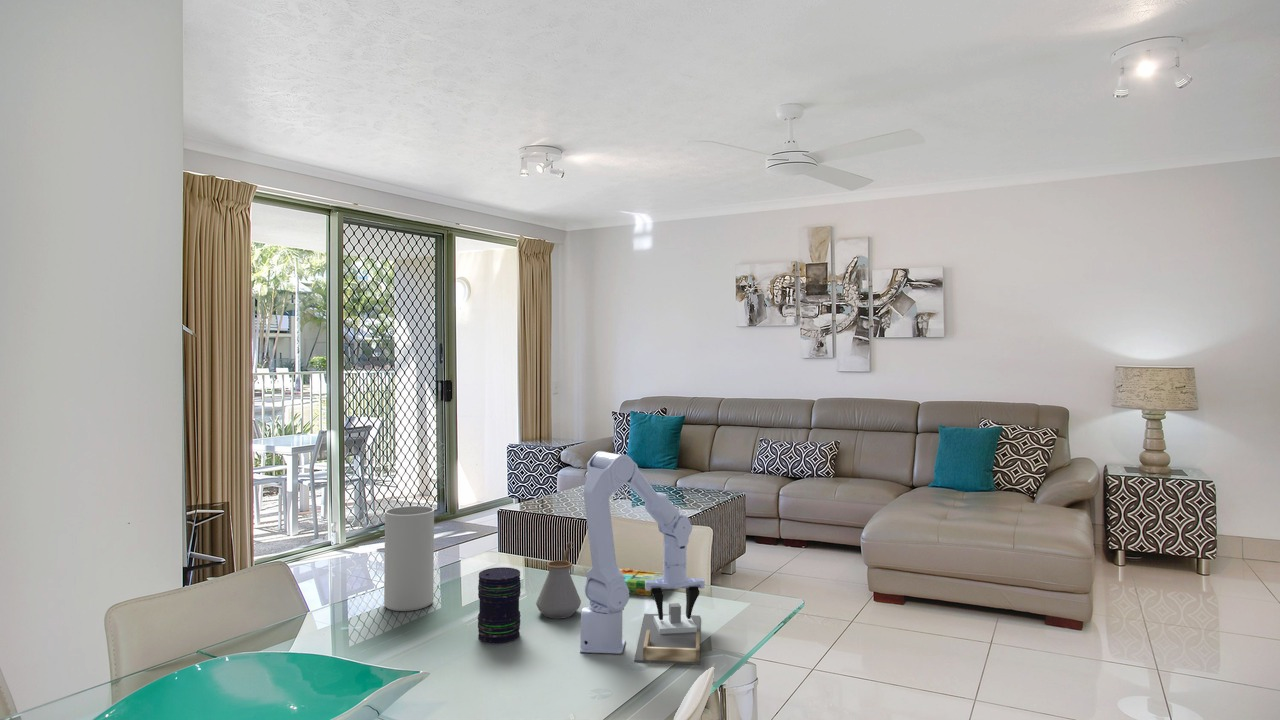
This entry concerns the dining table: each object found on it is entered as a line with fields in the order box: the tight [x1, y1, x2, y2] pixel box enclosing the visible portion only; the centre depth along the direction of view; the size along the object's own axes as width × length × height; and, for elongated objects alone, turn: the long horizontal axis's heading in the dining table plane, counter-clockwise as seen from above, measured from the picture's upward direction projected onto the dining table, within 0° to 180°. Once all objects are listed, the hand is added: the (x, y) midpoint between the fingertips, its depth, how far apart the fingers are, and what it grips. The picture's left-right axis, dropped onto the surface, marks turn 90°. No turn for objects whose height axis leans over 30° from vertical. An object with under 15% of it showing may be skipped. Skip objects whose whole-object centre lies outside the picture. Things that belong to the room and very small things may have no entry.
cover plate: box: [654, 602, 697, 634], centre depth 180 cm, size 9×9×5 cm
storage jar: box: [477, 566, 522, 645], centre depth 173 cm, size 10×10×15 cm
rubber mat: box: [633, 613, 701, 666], centre depth 173 cm, size 14×30×1 cm, turn 175°
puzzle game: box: [618, 567, 663, 596], centre depth 211 cm, size 12×5×20 cm
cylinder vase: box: [383, 505, 435, 612], centre depth 196 cm, size 12×12×25 cm
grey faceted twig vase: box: [535, 541, 582, 620], centre depth 194 cm, size 21×12×15 cm, turn 174°
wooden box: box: [643, 630, 701, 662], centre depth 164 cm, size 12×11×3 cm
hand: (674, 618), depth 180 cm, fingers open, 6 cm apart
